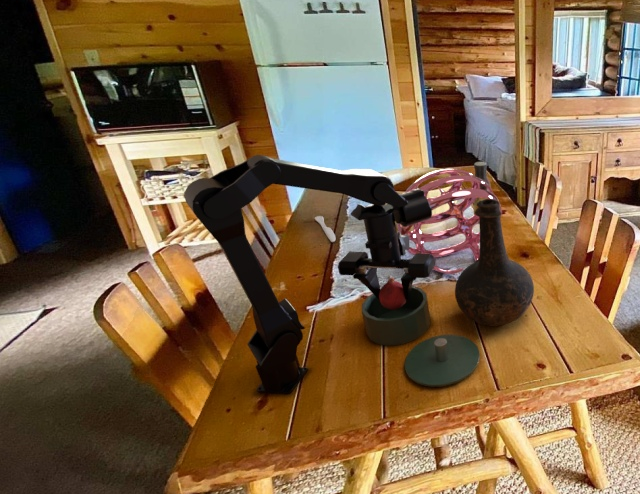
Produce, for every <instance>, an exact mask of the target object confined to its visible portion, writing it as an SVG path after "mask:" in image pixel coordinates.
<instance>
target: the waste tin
mask: <svg viewBox="0 0 640 494" xmlns="http://www.w3.org/2000/svg"><path fill="white" fill-rule="evenodd" d="M429 309H430V308H429V301H428V295H427V292H425V291H424V290H423V289H422V288H421V287H418V286H415V285H412V288H411V292H410V297H409V299H408V300H406V302H405V304H404V305H403V306H402V307H400V308H399V309H398V310H390V309H387V308H385V307H384V306H383V305H382V304H381V302H380V299H378V298H377V297H376V296H375V295H374V294H373V293H371V294H370V295H368V296H367V297H366V298H365V299H364V300H363V302H362V303H361V315H362V319H363V322H364V328H365V333H366V335H367V337H368V339H369V340H370V341H371V342H373V343H374V344H377V345H381V346H385V347H386V346H387V347H389V346H390V347H391V346H401V345H404V344H408V343H411V342H413V341H415V340H417V339H419V338H420V337H422V336H423V335H424V334H425V333H426V332H427V331H428V329H429V328H430V325H431V315H430V310H429Z"/></svg>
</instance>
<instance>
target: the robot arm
mask: <svg viewBox="0 0 640 494" xmlns="http://www.w3.org/2000/svg"><path fill="white" fill-rule="evenodd" d="M272 185H280V186H287V187H293V188H300V189H307V190H314V191H320V192H321V191H322V192H328V193H333V194H334V193H335V194H341V195H345V196H347V197H350V198H353V199H356V200H358V201H361V202H364V203H367V204H369V205H362V204H361V203H357V204H356V206H355V208H353V210H352V211H351V212H350V216H351V217H352V218H355V219H356V220H357V221H363V223H364V229H365V233H366V238H367V241H366V242H365V244H364V245H365V249H368V250H369V254H368V252H366V251H357V250H354V251H351V250H350V251H348V252H347V253H346V254H345V255H344V257H343V258H341V260H340V261H338V263H337V269H338V274H339V275H340V276H352V279H354V280H358V281H359V282H360V283H361V284H363V285H364V286H365V288H367V289H368V290H369V291H370V292H371V294H374V295H375V296H376V297H377V298H378V299H379V292H380V290H381V285H380V280H379V277H378V269H391V270H392V269H394V270H396V269H398V270H399V269H402V270H403V271H404V273H403V274H402V276H401V278H400V283H401V284H402V287H403V292H404V296H405V299H406V300H408V299H409V297H410V292H411V288H412V286H413V283H414V281H416V280H417V279H427V278H429V276H430V275H431V274H432V272H433V271H434V270H433V268H434V266H435V265H436V266H437V264H436V257H434V256H433V255H432V254H421V253H415V255H412V257H411V258H408V259H407V258H406V259H405V258H402V257H404V256H405V255H406V253H407V250H409V247H410V240H409V235H400V232H399V231H398V229H397V223H398V224H401V225H402V226H403V227H406V226H409V225H413V224H416V223H419V222H422V221H425V220H428V219H430V218H431V216H432V215H433V210H432V208H431V206H430V204H429V202H428V200H427V198H428V197H427V198H426V197H425V196H424V191H423V190H421V189H419V188H417V189H414V190H412V191H410V192H407V193H405V192H404V193H399V192H398V191H396V190H395V186H394V183H393V181H392V179H391V178H389V177H388V176H386V175H383V174H381V173H379V172H378V171H375V170H373V169H369V168H368V169H367V168H351V169H339V170H338V169H334V168H327V167H321V166H316V165H311V164H305V163H300V162H295V161H289V160H284V159H277V158H272V157H269V156H267V155H263V154H256V155H252V156H251V157H249V158H248V159H246V160H245V161H243V162H241V163H238V164H236V165H234V166H232V167H229V168H226V169H224V170H221V171H219V172H218V173H216V174H214V175H213V176H211V177H202V178H198V179H195V180H194V181H192V182H191V183H189V185H188V186H187V187H186V188H185V191H184V193H183V194H184V195H183V196H184V200H185V203H186V204H187V206H188V208H189V209H190V210H191V211H192V213H193V214H194V215H195V217H196V218H197V219H198V221H200V223H201V224H202V225H203V226H204V228H205V229H206V230H207V231H208V232H209V234H211V236H212V237H213V239H215V240H216V242H218V245H219V247H220V249H221V251H222V252H223V255H224V256H225V258H226V260H227V262H228V263H229V266H230V268H231V269H232V271H233V273H234V275H235V277H236V279H237V280H238V283H239V284H240V286H241V288H242V290H243V291H244V293H245V296H246V297H247V299H248V301H249V303H250V305H251V307H252V316H253V317H252V318H253V320H254V325H255V329H256V330H255V331H254V333H253V334H252V336H251V338H250V339H249V340H248V342H247V347H248V348H249V350H250V352H251V353H252V355H253V357H254V358H255V360H256V365H255V370H256V372H257V375H258V377H259V380H260V382H261V383H260V384H259V386H258V387H257V388H256V392H257V393H261V394H281V395H289V394H291V393H292V392H293V391H294V390H295V388H296V387H297V386H298V385H299V384H300V382H301V380H302V379H304V376H305V375H306V374H307V373H308V371H309V369H308V367H306V366H301V365H300V361H299V358H298V354H297V351H298V346H299V345H300V344H301V342H302V341H303V339H304V334H303V330H305V329H306V327H305V326H304V325H303V324H302V322H301V321H300V319H299V318H300V317H299V314H298V311H297V310H296V309H295V307H294V306H293V305H292V304H291V303H290V302H289V300H288V299H287V298H286V297H284V298H283V299H281V300H280V301H279V300H278V298H277V296H276V294H275V292H274V290H273V288H272V286H271V283H270V282H269V280H268V278H267V275H266V274H265V271H264V270H263V268H262V266H261V264H260V262H259V259H258V257H257V256H256V254H255V251H254V249H253V248H252V245H251V244H250V241H249V239H248V237H247V234H246V225H245V219H244V214H243V210H242V209H243V208H245V207H246V206H248V205H249V204H251V203H252V202H253V201H254V200H256V198H258V197H259V195H260V194H262V193H263V192H264V191H265V190H266V189H267V188H268V187H270V186H272ZM369 255H370V257H369Z"/></svg>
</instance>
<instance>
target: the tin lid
mask: <svg viewBox="0 0 640 494" xmlns="http://www.w3.org/2000/svg"><path fill="white" fill-rule="evenodd" d="M480 353H481V352H480V350H479V347H478V345H477V344H476V343H475V341H473V340H472V339H470V338H469V337H466V336H462V335H459V334H441V335H436V336H432V337H429V338H426V339H425V340H422V341H420V342H419V343H418V344H416V345H415V346H414V347H413V348H412V349H410V351H409V352H408V353H407V356H406V357H405V359H404V369H405V373H406V375H407V377H408V378H409V379H410V380H411V381H413V382H414V383H416V384H417V385H421V386H424V387H431V388H434V387H435V388H436V387H437V388H438V387H447V386H450V385H453V384H456V383H459V382H461V381H462V380H464V379H466V378H468V377H469V376H470V375H471V374H472V373H473V372H474V371H475V370H476V368H477V366H478V365H479V362H480V358H481V356H480V355H481V354H480Z"/></svg>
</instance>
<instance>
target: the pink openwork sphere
mask: <svg viewBox="0 0 640 494" xmlns="http://www.w3.org/2000/svg"><path fill="white" fill-rule="evenodd" d="M442 175H448V176H445V177H441V178H438V179H435V180H433V181H429V182H428V183H426V184H424V185H422V186H420V185H421V184H422V183H423V182H425V181H428V180H429V179H432V178H435V177H438V176H442ZM463 182H470V183H471V188H462V187H463V186H462V185H463ZM479 183H480V184H482V185H484V186H485V187H486V189H487V191H486V190H482V189H480V184H479ZM450 184H452V185H451V186H450V188H449V189H448V190H444V189H443V188H441V187H442V186H445V185H450ZM419 186H420V187H419ZM437 188H438V190H439V192H440V194H439V195H437V196H433V197H428V194H429V192H431V191H433V190H434V189H437ZM414 189H421V190H423V191H424V196H425V197H426V198H427V200H428V202H429V204H430V206H431V208H432V211H434V210H436V209H438V208H440V207H442V206H444V205H446V204H448V209H447V210H445V211H442V212H439V213H434V214H432V216H431V218H430V219H428V220H425V221H422V222H419V223H416V224H413V225H409V226H406V227H403V226H402V225H401V224H398V223H396V229H397V231H398V232H399V233H400V235H409V241H411V242H413V243H414V245H415V248H413V247H412V246H409V250H406V252H408V253H409V254H410V255H412V256H414V255H415V253H421V254H432V255H433V256H434V257H435V258H441V257H447V256H451V255H454V254H457V253H460V252H462V251H465V250H467V249H469V250H470V251H471V253H472V255H473V259H474V262H475V261H476V260H478V259H479V253H480V231H479V232H478V233H474V230H473V228H474V227H475V226H476V225H477V224H479V216H477V215H474V214H473V215H472V216H470V217H469V218H466V217H465V215H464V212H465V211H466V210H467V209H468V208H469V207H471V206H472V205H473V202H474V201H475V200H476V198H477V197H478V198H486V199H494V200H497V201H499V203H500V212H501V214H502V215H503V208H502V207H503V206H502V204H501V201H500V200H499V198H498V197H497V195H496V194H494V191H493V189H492V186H491V187H490V186H489V185H488V184H487V183H486V182H485V181H483V180H482V179H480V178H477V177H475V174H473V173H471V172H469V171H467V170H464V169H458V168H445V169H438V170H437V169H436V170H433V171H430V172H428V173H426V174H423V175H422V176H421V177H419V178H418V179H416V180H415V182H413V183H412V184H411V185H409V186H408V188H407V189H406V190H405V191H404V193H407V192H410V191H412V190H414ZM459 200H462V201H461V202H459V203H455V202H456V201H459ZM502 215H501V216H500V219H501V218H502ZM451 219H455V220H456V221H457V225H455V226H454V227H451V228H448V229H445V230H442V231H438V232H431V233H423V232H422V230H421V229H422V228H421V227H422V226H423V225H433V224H438V223H442V222H445V221H448V220H451ZM412 228H413V230H412V231H411V229H412ZM459 235H464V237H465V239H464V241H462V242H460V243H457V244H454V245H452V246H449V247H444V248H439V249H433V250H431V249H426V247H425V246H424V244H425V243H434V242H439V241H443V240H447V239H451V238H453V237H456V236H459ZM432 271H435V272H438V273H440V274H444V275H454V274H459V273H462V272H463V271H464V268H457V269H452V270H446V269H443V268H440V267H438V266H437V264H436V265H435V266H434V268H433V270H432Z"/></svg>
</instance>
